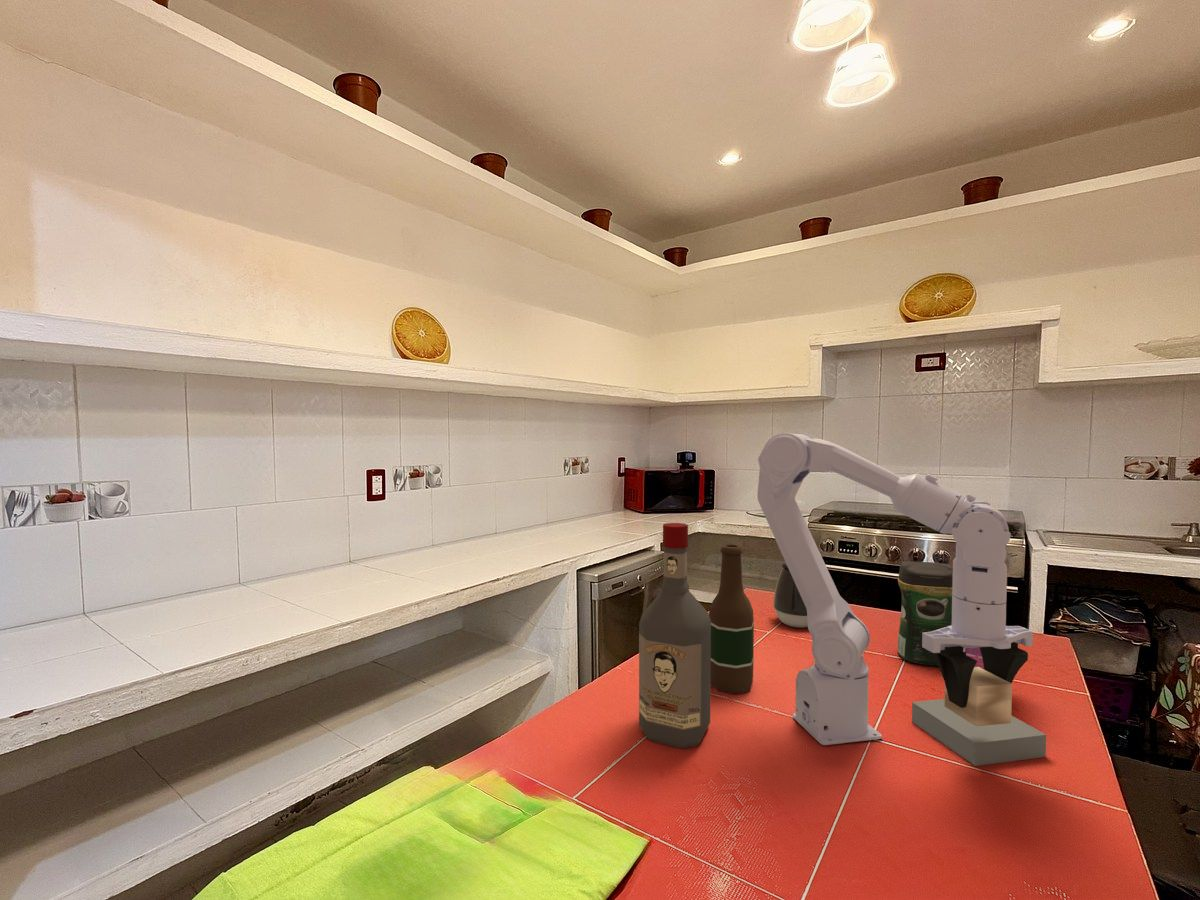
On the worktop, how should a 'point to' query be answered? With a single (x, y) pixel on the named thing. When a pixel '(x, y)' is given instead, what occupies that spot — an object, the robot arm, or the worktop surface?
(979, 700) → the birch cube
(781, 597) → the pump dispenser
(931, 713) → the slate pedestal
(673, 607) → the liquor
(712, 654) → the beer bottle
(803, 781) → the worktop surface
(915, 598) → the coffee jar
